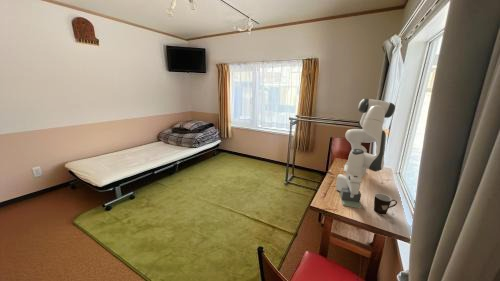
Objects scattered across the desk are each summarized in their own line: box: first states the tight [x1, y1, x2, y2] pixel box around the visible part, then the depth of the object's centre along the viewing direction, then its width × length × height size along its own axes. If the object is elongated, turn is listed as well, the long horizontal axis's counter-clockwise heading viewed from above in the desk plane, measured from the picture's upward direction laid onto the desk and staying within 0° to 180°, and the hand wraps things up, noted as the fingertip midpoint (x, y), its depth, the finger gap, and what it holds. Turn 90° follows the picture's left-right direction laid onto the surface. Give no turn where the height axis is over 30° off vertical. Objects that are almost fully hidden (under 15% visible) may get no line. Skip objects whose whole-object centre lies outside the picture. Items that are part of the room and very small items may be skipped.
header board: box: [339, 192, 362, 209], centre depth 130 cm, size 14×10×5 cm
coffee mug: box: [373, 192, 398, 216], centre depth 117 cm, size 12×9×10 cm
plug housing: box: [340, 188, 362, 204], centre depth 129 cm, size 5×11×6 cm, turn 74°
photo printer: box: [335, 174, 348, 193], centre depth 140 cm, size 10×4×12 cm, turn 29°
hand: (350, 193), depth 130 cm, fingers open, 8 cm apart
